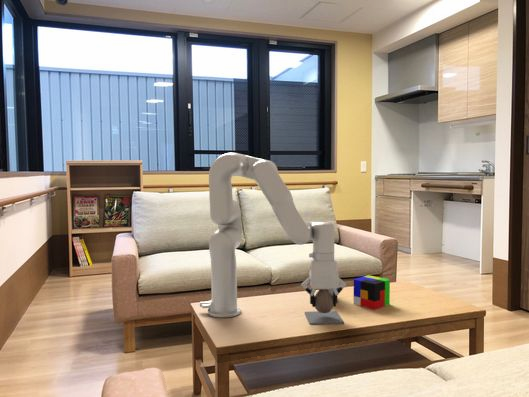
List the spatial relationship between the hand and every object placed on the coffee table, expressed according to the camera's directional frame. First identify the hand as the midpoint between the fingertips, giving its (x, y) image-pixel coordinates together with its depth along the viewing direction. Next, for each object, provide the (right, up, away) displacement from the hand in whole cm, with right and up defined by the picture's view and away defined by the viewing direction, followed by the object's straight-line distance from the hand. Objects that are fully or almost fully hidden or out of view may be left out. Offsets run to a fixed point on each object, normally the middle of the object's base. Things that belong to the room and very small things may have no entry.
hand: (323, 305), depth 151 cm
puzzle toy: (+21, -4, +16) cm, 27 cm away
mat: (0, -5, 0) cm, 5 cm away
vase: (0, -2, 0) cm, 2 cm away
